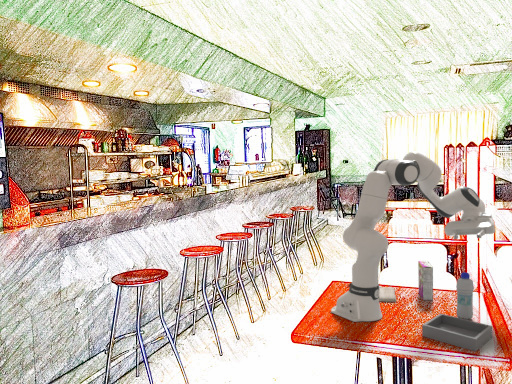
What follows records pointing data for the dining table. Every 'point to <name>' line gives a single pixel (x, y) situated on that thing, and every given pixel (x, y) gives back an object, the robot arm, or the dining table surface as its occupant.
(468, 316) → the bottle
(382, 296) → the washcloth
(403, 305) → the dining table surface
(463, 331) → the serving tray
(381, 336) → the dining table surface
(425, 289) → the candy bar box
